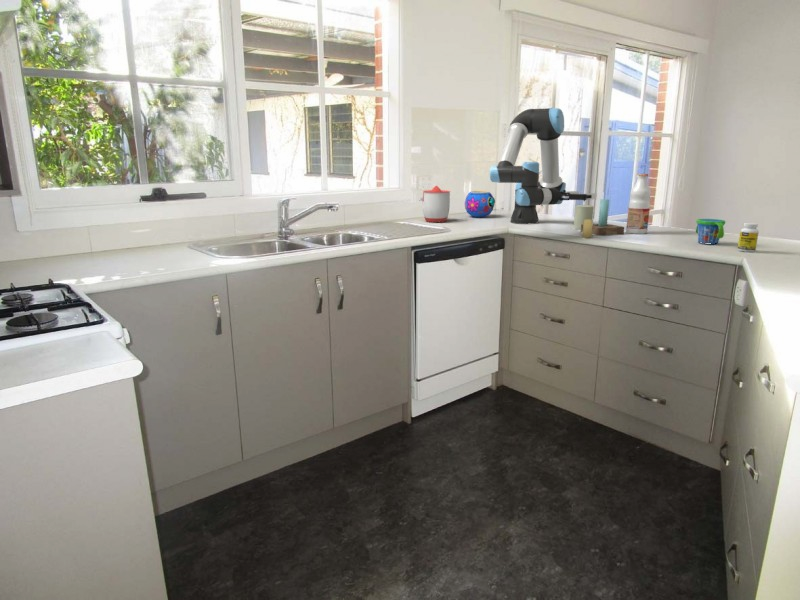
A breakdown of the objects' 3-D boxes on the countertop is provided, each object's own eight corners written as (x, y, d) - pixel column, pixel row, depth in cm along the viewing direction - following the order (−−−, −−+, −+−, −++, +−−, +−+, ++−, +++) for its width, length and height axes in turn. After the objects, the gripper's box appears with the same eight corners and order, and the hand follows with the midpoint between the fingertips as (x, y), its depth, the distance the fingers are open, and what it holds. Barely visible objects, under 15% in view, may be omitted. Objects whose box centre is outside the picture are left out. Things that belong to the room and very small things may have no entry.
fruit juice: (624, 231, 277) (630, 173, 269) (644, 231, 275) (651, 173, 267) (627, 234, 268) (634, 174, 260) (648, 234, 266) (655, 174, 259)
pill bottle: (736, 251, 222) (741, 223, 219) (737, 249, 227) (742, 221, 224) (755, 253, 218) (759, 224, 216) (755, 250, 223) (760, 223, 221)
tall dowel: (595, 232, 272) (598, 199, 268) (602, 232, 274) (605, 199, 269) (600, 233, 269) (604, 200, 265) (607, 233, 270) (611, 199, 266)
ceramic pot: (492, 219, 326) (493, 193, 322) (462, 218, 330) (463, 192, 326) (495, 215, 342) (496, 190, 338) (466, 215, 346) (466, 190, 342)
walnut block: (580, 231, 276) (581, 224, 275) (604, 230, 280) (605, 223, 279) (598, 235, 263) (599, 228, 262) (623, 234, 267) (624, 226, 266)
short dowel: (580, 236, 260) (581, 219, 258) (587, 236, 261) (589, 219, 259) (585, 238, 256) (587, 220, 254) (593, 237, 257) (594, 220, 255)
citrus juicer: (419, 219, 324) (419, 184, 319) (449, 219, 323) (449, 184, 318) (418, 223, 309) (419, 186, 304) (450, 223, 308) (451, 186, 303)
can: (588, 230, 281) (590, 206, 278) (570, 228, 286) (572, 205, 283) (594, 228, 288) (596, 204, 285) (577, 226, 293) (578, 203, 290)
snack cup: (686, 240, 248) (689, 217, 245) (710, 240, 248) (713, 217, 245) (704, 246, 233) (708, 222, 230) (730, 246, 233) (733, 222, 230)
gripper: (533, 202, 270) (570, 200, 276) (562, 207, 247) (603, 205, 253) (533, 186, 268) (571, 185, 274) (564, 190, 245) (604, 188, 251)
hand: (587, 195), depth 264 cm, fingers open, 13 cm apart
